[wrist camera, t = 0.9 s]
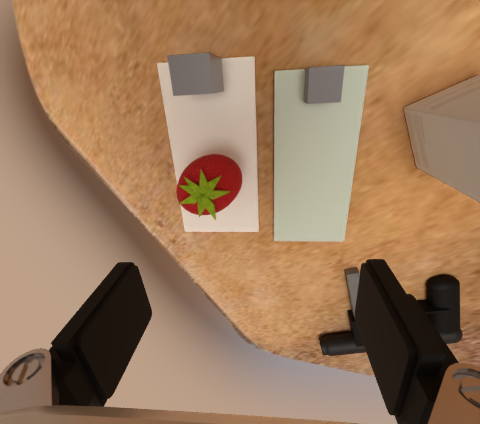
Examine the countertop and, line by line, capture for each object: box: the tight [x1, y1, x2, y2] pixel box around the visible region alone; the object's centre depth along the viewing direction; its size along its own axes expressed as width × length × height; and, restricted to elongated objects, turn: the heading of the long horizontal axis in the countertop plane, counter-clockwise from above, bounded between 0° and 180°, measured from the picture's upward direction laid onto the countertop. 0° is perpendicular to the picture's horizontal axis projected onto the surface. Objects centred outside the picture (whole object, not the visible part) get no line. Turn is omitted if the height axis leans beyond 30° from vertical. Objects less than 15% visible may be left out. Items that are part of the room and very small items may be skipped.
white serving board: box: [157, 52, 259, 232], centre depth 29 cm, size 20×10×7 cm, turn 3°
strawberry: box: [177, 154, 242, 220], centre depth 28 cm, size 6×8×10 cm
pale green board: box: [274, 65, 369, 242], centre depth 29 cm, size 20×9×4 cm, turn 3°
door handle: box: [319, 267, 462, 356], centre depth 39 cm, size 3×20×16 cm
